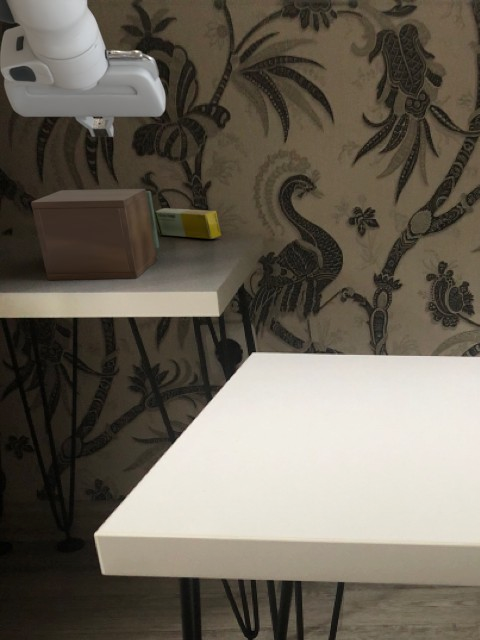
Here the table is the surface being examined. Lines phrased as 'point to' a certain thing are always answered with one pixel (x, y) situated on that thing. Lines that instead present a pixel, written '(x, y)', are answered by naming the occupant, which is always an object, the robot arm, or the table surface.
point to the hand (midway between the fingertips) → (103, 133)
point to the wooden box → (95, 234)
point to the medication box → (188, 223)
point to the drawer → (152, 219)
